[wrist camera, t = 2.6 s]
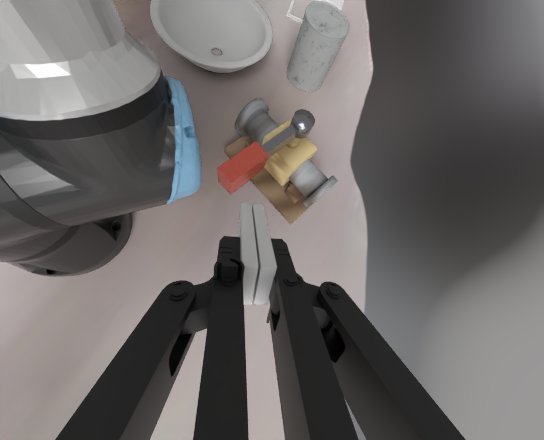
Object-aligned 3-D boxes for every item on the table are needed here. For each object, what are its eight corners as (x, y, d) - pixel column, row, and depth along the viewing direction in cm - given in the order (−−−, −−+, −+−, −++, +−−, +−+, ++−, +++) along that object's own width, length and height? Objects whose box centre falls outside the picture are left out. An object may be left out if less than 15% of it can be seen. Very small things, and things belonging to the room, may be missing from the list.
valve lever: (216, 179, 26) (215, 165, 22) (295, 123, 31) (304, 105, 28) (232, 196, 26) (233, 185, 22) (308, 137, 31) (319, 121, 27)
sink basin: (153, 9, 46) (142, -33, 39) (254, 18, 52) (258, -16, 46) (168, 96, 41) (158, 65, 35) (277, 94, 47) (285, 68, 41)
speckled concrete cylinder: (281, 63, 50) (297, 1, 38) (312, 60, 53) (337, 0, 41) (296, 94, 49) (318, 39, 37) (327, 89, 52) (357, 36, 40)
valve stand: (224, 152, 41) (224, 101, 28) (263, 126, 44) (277, 71, 32) (290, 224, 40) (319, 203, 28) (324, 192, 44) (362, 162, 31)
